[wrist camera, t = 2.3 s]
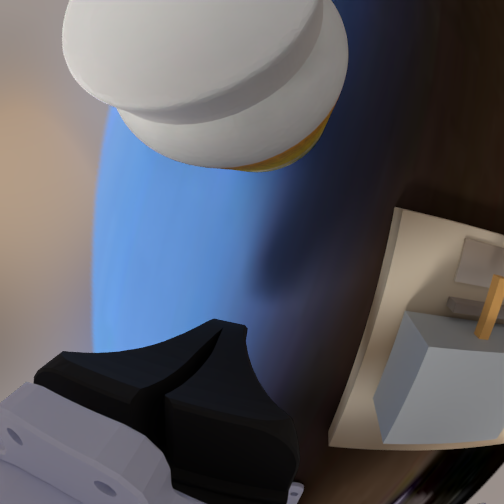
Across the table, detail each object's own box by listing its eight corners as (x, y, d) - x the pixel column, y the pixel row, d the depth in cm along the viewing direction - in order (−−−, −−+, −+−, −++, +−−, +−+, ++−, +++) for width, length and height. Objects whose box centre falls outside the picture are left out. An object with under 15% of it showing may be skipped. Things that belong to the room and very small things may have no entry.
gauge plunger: (474, 402, 12) (496, 439, 9) (372, 398, 13) (383, 443, 10) (526, 275, 10) (565, 297, 7) (420, 252, 11) (452, 274, 8)
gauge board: (529, 427, 13) (540, 443, 11) (328, 431, 15) (329, 456, 13) (599, 267, 10) (618, 276, 8) (394, 206, 12) (409, 211, 10)
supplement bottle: (180, 147, 13) (-6, 119, 4) (226, 38, 12) (119, -108, 2) (298, 193, 13) (283, 231, 4) (346, 77, 11) (405, -82, 2)
